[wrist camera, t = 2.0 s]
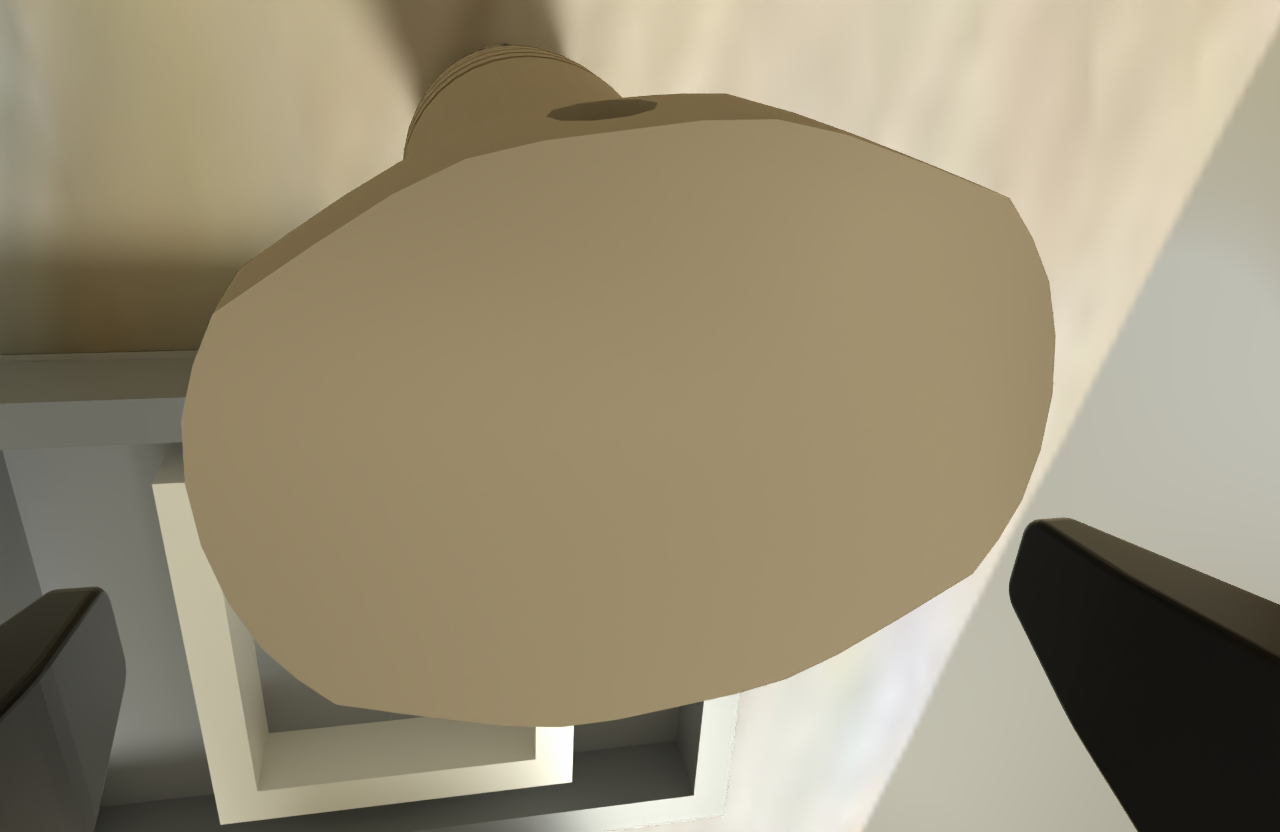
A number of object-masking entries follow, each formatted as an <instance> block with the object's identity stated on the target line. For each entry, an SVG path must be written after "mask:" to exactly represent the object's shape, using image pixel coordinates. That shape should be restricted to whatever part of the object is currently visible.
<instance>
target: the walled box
mask: <svg viewBox="0 0 1280 832" xmlns="http://www.w3.org/2000/svg"><path fill="white" fill-rule="evenodd" d="M197 353H198V350H189V351H149V352H110V353H71V354H31V355H0V624H2V623H3V622H5V621H6V620H8V619H9V618H10V617H12V616H13V615H15V614H16V613H18V612H19V611H21V610H22V609H24V608H25V607H26V606H28V605H29V604H31V603H32V602H34V601H35V600H37V599H38V598H40V597H41V596H42V595H44V594H46V593H47V592H49V591H52V590H56V589H68V588H82V587H100V588H102V589H103V590H105V591H106V593H107V594H108V596H109V598H110V601H111V604H112V608H113V612H114V616H115V620H116V624H117V628H118V632H119V636H120V640H121V644H122V648H123V652H124V656H125V662H126V682H125V688H124V693H123V698H122V703H121V707H120V712H119V717H118V721H117V726H116V731H115V736H114V740H113V745H112V750H111V754H110V759H109V764H108V769H107V773H106V778H105V783H104V787H103V792H102V797H101V802H100V806H99V811H98V816H97V820H96V825H95V829H94V832H608V831H615V830H623V829H630V828H638V827H645V826H653V825H660V824H668V823H675V822H683V821H690V820H698V819H705V818H713V817H720V816H724V814H725V806H726V799H727V791H728V783H729V775H730V768H731V760H732V752H733V745H734V737H735V729H736V722H737V714H738V706H739V698H740V693H737V694H734V695H730V696H725V697H720V698H716V699H711V700H706V701H702V702H697V703H693V704H688V705H683V706H679V707H674V708H669V709H665V710H660V711H656V712H651V713H646V714H642V715H637V716H632V717H628V718H623V719H619V720H611V721H604V722H597V723H589V724H582V725H574V726H567V727H524V726H498V725H490V724H481V723H473V722H464V721H455V720H447V719H438V718H430V717H423V716H415V715H408V714H401V713H394V712H386V711H379V710H372V709H365V708H357V707H350V706H343V705H336V704H334V703H333V702H331V701H330V700H328V699H327V698H325V697H323V696H322V695H320V694H319V693H317V692H316V691H314V690H313V689H311V688H310V687H308V686H307V685H305V684H304V683H302V682H301V681H299V680H298V679H296V678H295V677H294V676H293V675H292V674H291V673H290V672H288V671H287V670H286V669H285V668H284V667H283V666H281V665H280V664H279V663H278V662H277V661H276V660H274V659H273V658H272V657H271V656H270V655H269V654H267V653H266V652H265V651H264V650H263V649H262V648H261V647H260V646H259V644H258V643H257V642H256V640H255V639H254V638H253V636H252V635H251V633H250V632H249V631H248V629H247V628H246V627H245V625H244V624H243V622H242V621H241V620H240V618H239V617H238V616H237V614H236V613H235V611H234V610H233V609H232V607H231V606H230V605H229V603H228V602H227V600H226V597H225V595H224V593H223V591H222V589H221V587H220V585H219V583H218V581H217V578H216V576H215V574H214V572H213V570H212V568H211V566H210V564H209V562H208V559H207V557H206V555H205V553H204V551H203V549H202V547H201V544H200V540H199V536H198V532H197V528H196V525H195V521H194V517H193V513H192V509H191V505H190V502H189V498H188V494H187V490H186V486H185V480H184V463H183V445H182V428H181V418H182V413H183V409H184V404H185V399H186V394H187V390H188V385H189V380H190V375H191V371H192V366H193V363H194V360H195V358H196V355H197Z"/></svg>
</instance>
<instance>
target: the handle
mask: <svg viewBox="0 0 1280 832" xmlns="http://www.w3.org/2000/svg"><path fill="white" fill-rule="evenodd" d="M1054 354H1055V328H1054V320H1053V311H1052V303H1051V294H1050V286H1049V280H1048V278H1047V275H1046V272H1045V270H1044V267H1043V264H1042V262H1041V259H1040V256H1039V254H1038V251H1037V248H1036V246H1035V243H1034V240H1033V238H1032V236H1031V234H1030V233H1029V231H1028V229H1027V227H1026V226H1025V224H1024V222H1023V220H1022V219H1021V217H1020V215H1019V213H1018V212H1017V210H1016V208H1015V206H1014V205H1013V203H1012V201H1011V200H1010V198H1008V197H1006V196H1003V195H1001V194H999V193H997V192H994V191H992V190H990V189H987V188H985V187H983V186H980V185H978V184H976V183H973V182H971V181H969V180H966V179H964V178H961V177H959V176H957V175H954V174H952V173H949V172H947V171H945V170H942V169H940V168H937V167H935V166H932V165H930V164H928V163H925V162H923V161H920V160H918V159H915V158H913V157H910V156H908V155H905V154H903V153H900V152H897V151H895V150H892V149H890V148H887V147H885V146H882V145H880V144H877V143H875V142H872V141H870V140H867V139H865V138H862V137H859V136H857V135H854V134H852V133H849V132H846V131H844V130H841V129H838V128H835V127H832V126H830V125H827V124H824V123H821V122H818V121H816V120H813V119H810V118H807V117H804V116H802V115H799V114H796V113H793V112H789V111H786V110H782V109H779V108H775V107H771V106H768V105H764V104H761V103H757V102H754V101H750V100H747V99H743V98H739V97H736V96H732V95H729V94H669V95H651V96H639V97H627V98H622V97H621V96H620V95H619V94H618V93H617V92H616V91H615V90H614V89H613V88H612V87H611V86H609V85H608V84H607V83H606V82H604V81H603V80H602V79H600V78H599V77H597V76H596V75H595V74H593V73H592V72H590V71H589V70H588V69H586V68H585V67H583V66H582V65H580V64H578V63H576V62H574V61H572V60H570V59H568V58H566V57H564V56H561V55H558V54H555V53H551V52H548V51H545V50H542V49H538V48H534V47H526V46H519V45H518V46H512V45H508V44H491V45H487V46H484V47H482V48H480V49H478V50H477V52H475V53H472V54H470V55H468V56H466V57H464V58H462V59H461V60H459V61H457V62H456V63H454V64H453V65H451V66H450V67H449V68H448V69H446V70H445V71H444V72H443V73H442V74H440V76H439V77H438V78H437V79H436V80H435V81H434V83H433V84H432V85H431V86H430V87H429V89H428V90H427V92H426V94H425V95H424V97H423V99H422V100H421V102H420V104H419V105H418V107H417V109H416V111H415V114H414V116H413V119H412V121H411V124H410V126H409V129H408V134H407V139H406V143H405V148H404V157H403V160H402V161H401V162H399V163H397V164H396V165H394V166H392V167H391V168H389V169H387V170H386V171H384V172H382V173H381V174H379V175H378V176H376V177H374V178H373V179H371V180H369V181H368V182H366V183H364V184H363V185H361V186H359V187H358V188H356V189H354V190H353V191H351V192H349V193H348V194H346V195H344V196H343V197H342V198H340V199H339V200H337V201H336V202H334V203H333V204H331V205H330V206H328V207H327V208H325V209H324V210H322V211H321V212H319V213H318V214H316V215H315V216H313V217H312V218H310V219H309V220H308V221H306V222H305V223H303V224H302V225H300V226H299V227H297V228H296V229H294V230H293V231H291V232H290V233H289V234H287V235H286V236H285V237H283V238H282V239H280V240H279V241H278V242H276V243H275V244H273V245H272V246H271V247H269V248H268V249H266V250H265V251H264V252H262V253H261V254H259V255H258V256H257V257H255V258H254V259H253V260H251V261H250V262H248V263H247V264H246V265H245V266H243V267H242V268H241V269H240V270H239V271H238V272H237V274H236V276H235V277H234V279H233V280H232V282H231V283H230V285H229V286H228V288H227V290H226V291H225V293H224V295H223V297H222V298H221V300H220V302H219V304H218V305H217V307H216V309H215V311H214V312H213V314H212V317H211V319H210V322H209V324H208V327H207V330H206V332H205V335H204V337H203V340H202V342H201V345H200V348H199V350H198V353H197V355H196V358H195V360H194V363H193V366H192V371H191V375H190V380H189V385H188V390H187V394H186V399H185V404H184V409H183V413H182V418H181V428H182V445H183V463H184V480H185V486H186V490H187V494H188V498H189V502H190V505H191V509H192V513H193V517H194V521H195V525H196V528H197V532H198V536H199V540H200V544H201V547H202V549H203V551H204V553H205V555H206V557H207V559H208V562H209V564H210V566H211V568H212V570H213V572H214V574H215V576H216V578H217V581H218V583H219V585H220V587H221V589H222V591H223V593H224V595H225V597H226V600H227V602H228V603H229V605H230V606H231V607H232V609H233V610H234V611H235V613H236V614H237V616H238V617H239V618H240V620H241V621H242V622H243V624H244V625H245V627H246V628H247V629H248V631H249V632H250V633H251V635H252V636H253V638H254V639H255V640H256V642H257V643H258V644H259V646H260V647H261V648H262V649H263V650H264V651H265V652H266V653H267V654H269V655H270V656H271V657H272V658H273V659H274V660H276V661H277V662H278V663H279V664H280V665H281V666H283V667H284V668H285V669H286V670H287V671H288V672H290V673H291V674H292V675H293V676H294V677H295V678H296V679H298V680H299V681H301V682H302V683H304V684H305V685H307V686H308V687H310V688H311V689H313V690H314V691H316V692H317V693H319V694H320V695H322V696H323V697H325V698H327V699H328V700H330V701H331V702H333V703H334V704H336V705H343V706H350V707H357V708H365V709H372V710H379V711H386V712H394V713H401V714H408V715H415V716H423V717H430V718H438V719H447V720H455V721H464V722H473V723H481V724H490V725H498V726H524V727H567V726H574V725H582V724H589V723H597V722H604V721H611V720H619V719H623V718H628V717H632V716H637V715H642V714H646V713H651V712H656V711H660V710H665V709H669V708H674V707H679V706H683V705H688V704H693V703H697V702H702V701H706V700H711V699H716V698H720V697H725V696H730V695H734V694H737V693H740V692H744V691H747V690H750V689H754V688H757V687H761V686H764V685H767V684H771V683H774V682H777V681H781V680H784V679H787V678H789V677H791V676H793V675H796V674H798V673H800V672H802V671H804V670H806V669H808V668H810V667H812V666H814V665H817V664H819V663H821V662H823V661H825V660H827V659H829V658H831V657H833V656H836V655H838V654H839V653H841V652H843V651H845V650H846V649H848V648H850V647H851V646H853V645H855V644H857V643H858V642H860V641H862V640H863V639H865V638H867V637H869V636H870V635H872V634H874V633H875V632H877V631H879V630H881V629H882V628H884V627H886V626H888V625H889V624H891V623H893V622H894V621H896V620H898V619H899V618H901V617H903V616H904V615H906V614H908V613H909V612H911V611H913V610H914V609H916V608H917V607H919V606H921V605H922V604H924V603H926V602H927V601H929V600H931V599H932V598H934V597H936V596H937V595H939V594H940V593H942V592H944V591H945V590H947V589H949V588H950V587H952V586H954V585H955V584H957V583H958V582H960V581H962V580H963V579H965V578H967V577H968V576H970V575H972V574H973V573H974V571H975V570H976V569H977V567H978V566H979V565H980V563H981V562H982V561H983V559H984V558H985V557H986V555H987V554H988V553H989V551H990V550H991V549H992V547H993V546H994V545H995V543H996V542H997V541H998V539H999V538H1000V536H1001V534H1002V533H1003V531H1004V529H1005V528H1006V526H1007V524H1008V523H1009V521H1010V519H1011V518H1012V516H1013V514H1014V513H1015V511H1016V509H1017V508H1018V506H1019V504H1020V503H1021V501H1022V499H1023V496H1024V493H1025V491H1026V488H1027V485H1028V482H1029V480H1030V477H1031V474H1032V472H1033V469H1034V466H1035V464H1036V461H1037V458H1038V456H1039V453H1040V450H1041V445H1042V441H1043V436H1044V431H1045V426H1046V422H1047V417H1048V412H1049V408H1050V403H1051V398H1052V391H1053V372H1054Z"/></svg>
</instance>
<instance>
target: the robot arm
mask: <svg viewBox="0 0 1280 832" xmlns="http://www.w3.org/2000/svg"><path fill="white" fill-rule="evenodd" d="M1009 595H1010V600H1011V603H1012V606H1013V608H1014V610H1015V612H1016V614H1017V617H1018V618H1019V620H1020V622H1021V625H1022V627H1023V629H1024V631H1025V633H1026V635H1027V636H1028V639H1029V641H1030V643H1031V645H1032V647H1033V649H1034V651H1035V653H1036V655H1037V657H1038V659H1039V661H1040V663H1041V665H1042V667H1043V669H1044V671H1045V673H1046V675H1047V677H1048V679H1049V681H1050V683H1051V685H1052V687H1053V689H1054V691H1055V693H1056V695H1057V697H1058V699H1059V701H1060V703H1061V705H1062V707H1063V709H1064V711H1065V713H1066V715H1067V716H1068V719H1069V720H1070V722H1071V724H1072V726H1073V728H1074V730H1075V731H1076V733H1077V735H1078V736H1079V738H1080V740H1081V741H1082V743H1083V745H1084V746H1085V748H1086V750H1087V751H1088V753H1089V754H1090V756H1091V758H1092V759H1093V761H1094V763H1095V764H1096V766H1097V767H1098V769H1099V771H1100V772H1101V774H1102V775H1103V777H1104V779H1105V780H1106V782H1107V783H1108V785H1109V786H1110V788H1111V790H1112V791H1113V793H1114V795H1115V796H1116V798H1117V799H1118V801H1119V803H1120V804H1121V806H1122V807H1123V809H1124V811H1125V812H1126V814H1127V815H1128V817H1129V819H1130V820H1131V822H1132V823H1133V825H1134V827H1135V828H1136V830H1137V831H1138V832H1280V605H1279V604H1277V603H1274V602H1272V601H1269V600H1267V599H1264V598H1262V597H1260V596H1257V595H1255V594H1252V593H1250V592H1247V591H1245V590H1243V589H1240V588H1238V587H1236V586H1233V585H1231V584H1228V583H1226V582H1223V581H1221V580H1219V579H1216V578H1214V577H1211V576H1209V575H1207V574H1204V573H1202V572H1199V571H1196V570H1195V569H1192V568H1189V567H1187V566H1185V565H1182V564H1180V563H1178V562H1175V561H1173V560H1170V559H1168V558H1166V557H1163V556H1161V555H1158V554H1156V553H1154V552H1151V551H1149V550H1146V549H1144V548H1141V547H1139V546H1137V545H1134V544H1132V543H1129V542H1127V541H1125V540H1122V539H1120V538H1117V537H1115V536H1112V535H1110V534H1108V533H1105V532H1103V531H1100V530H1098V529H1095V528H1093V527H1091V526H1088V525H1086V524H1084V523H1081V522H1079V521H1076V520H1074V519H1071V518H1051V519H1038V520H1034V521H1032V522H1031V523H1029V525H1028V526H1027V527H1026V528H1025V530H1024V533H1023V536H1022V540H1021V543H1020V546H1019V550H1018V553H1017V557H1016V560H1015V564H1014V567H1013V571H1012V574H1011V577H1010V582H1009ZM125 682H126V662H125V656H124V652H123V648H122V644H121V640H120V636H119V632H118V628H117V624H116V620H115V616H114V612H113V608H112V604H111V601H110V598H109V596H108V594H107V593H106V591H105V590H103V589H102V588H100V587H82V588H68V589H56V590H52V591H49V592H47V593H46V594H44V595H42V596H41V597H40V598H38V599H37V600H35V601H34V602H32V603H31V604H29V605H28V606H26V607H25V608H24V609H22V610H21V611H19V612H18V613H16V614H15V615H13V616H12V617H10V618H9V619H8V620H6V621H5V622H3V623H2V624H0V832H94V829H95V825H96V820H97V816H98V811H99V806H100V802H101V797H102V792H103V787H104V783H105V778H106V773H107V769H108V764H109V759H110V754H111V750H112V745H113V740H114V736H115V731H116V726H117V721H118V717H119V712H120V707H121V703H122V698H123V693H124V688H125Z"/></svg>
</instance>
